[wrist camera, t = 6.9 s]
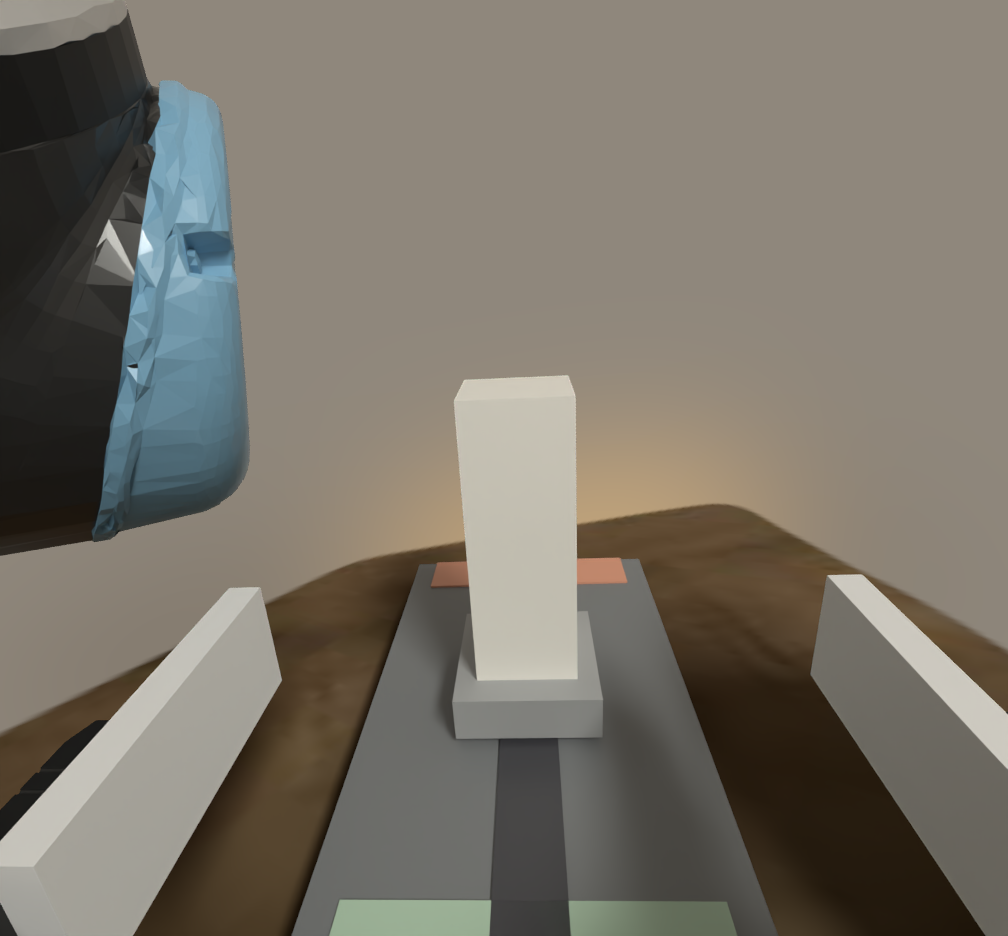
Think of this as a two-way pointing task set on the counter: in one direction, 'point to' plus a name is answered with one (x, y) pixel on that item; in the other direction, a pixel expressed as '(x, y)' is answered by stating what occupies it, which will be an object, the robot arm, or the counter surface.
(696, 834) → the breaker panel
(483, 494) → the handle
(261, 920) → the counter surface
